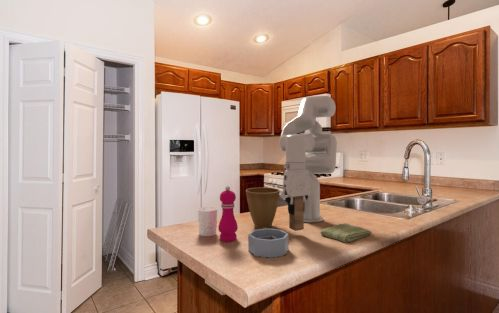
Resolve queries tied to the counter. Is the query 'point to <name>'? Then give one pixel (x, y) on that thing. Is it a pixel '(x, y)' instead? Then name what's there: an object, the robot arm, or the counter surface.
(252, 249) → the grey pet bowl
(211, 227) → the white cup
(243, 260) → the counter surface
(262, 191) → the plant pot
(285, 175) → the robot arm
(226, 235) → the pepper mill
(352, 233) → the washcloth
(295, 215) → the brown wooden block
